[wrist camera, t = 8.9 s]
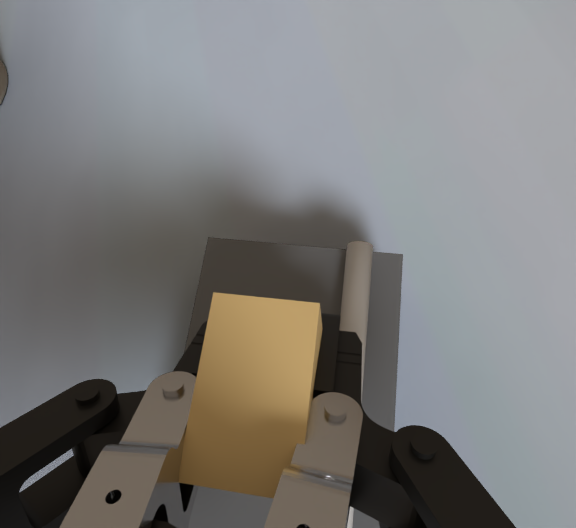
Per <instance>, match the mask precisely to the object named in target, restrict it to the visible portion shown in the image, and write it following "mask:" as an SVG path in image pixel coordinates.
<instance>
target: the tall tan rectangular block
mask: <svg viewBox="0 0 576 528" xmlns="http://www.w3.org/2000/svg"><path fill="white" fill-rule="evenodd" d="M322 330H323V329H322V319H321V309H320V303H314V302H304V301H294V300H284V299H274V298H264V297H254V296H245V295H235V294H225V293H215V292H213V297H212V302H211V307H210V312H209V317H208V322H207V327H206V332H205V337H204V342H203V347H202V352H201V357H200V362H199V367H198V372H197V377H196V382H195V387H194V392H193V397H192V402H191V408H190V413H189V418H188V423H187V428H186V433H185V438H184V444H183V452H182V459H181V465H180V470H179V483H185V484H191V485H196V486H202V487H208V488H214V489H220V490H226V491H232V492H238V493H244V494H250V495H255V496H261V497H267V498H273V499H274V496H275V493H276V490H277V487H278V484H279V481H280V478H281V475H282V472H283V470H284V468H285V467H286V466H287V467H289V466H290V464H291V461H292V458H293V454H294V451H295V448H296V445H297V444H304V445H305V439H306V432H307V426H308V419H309V413H310V406H311V401H312V400H313V389H314V382H315V376H316V369H317V363H318V356H319V349H320V343H321V336H322Z"/></svg>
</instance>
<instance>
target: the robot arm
mask: <svg viewBox="0 0 576 528" xmlns="http://www.w3.org/2000/svg"><path fill="white" fill-rule="evenodd" d="M340 318H341V315H335V314H326V313H321V319H322V329H323V330H322V336H321V343H320V349H319V356H318V363H317V369H316V376H315V382H314V389H313V400H312V401H311V406H310V413H309V419H308V426H307V432H306V439H305V445H304V444H297V445H296V448H295V451H294V454H293V458H292V461H291V464H290V466H289V467H287V466H286V467H285V468H284V470H283V472H282V475H281V478H280V481H279V484H278V487H277V490H276V493H275V496H274V499H273V502H272V505H271V508H270V511H269V514H268V517H267V520H266V523H265V526H264V528H347V524H348V518H349V511H350V506H351V507H353V508H355V509H356V510H358V511H360V512H362V513H364V514H366V515H368V516H370V517H372V518H374V519H375V520H377V521H379V525H380V528H516V527H515V526H514V524H513V523H512V522H511V521H510V519H509V518H508V517H507V516H506V514H505V513H504V512H503V511H502V509H501V508H500V507H499V506H498V504H497V503H496V502H495V501H494V499H493V498H492V497H491V496H490V494H489V493H488V492H487V491H486V489H485V488H484V487H483V486H482V484H481V483H480V482H479V481H478V479H477V478H476V477H475V476H474V474H473V473H472V472H471V471H470V469H469V468H468V467H467V466H466V464H465V463H464V462H463V460H462V459H461V458H460V457H459V455H458V454H457V453H456V452H455V450H454V449H453V448H452V447H451V445H450V444H449V443H448V442H447V441H446V440H445V438H444V437H442V436H441V435H440V434H438V433H437V432H435V431H433V430H432V429H429V428H426V427H423V426H416V425H411V426H406V427H403V428H401V429H399V430H398V431H397V432H393V431H391V430H389V429H386V428H384V427H382V426H380V425H378V424H377V423H375V422H374V421H372V420H371V419H370V418H369V417H368V416H367V414H366V413H365V412H364V410H363V407H362V404H361V381H362V342H361V340H360V339H359V337H358V335H357V334H356V332H349V331H340V330H339V329H340ZM207 322H208V320H207V321H206V322H204V323H203V324H202V326H201V327H200V329H199V330H198V332H197V334H196V336H195V337H194V338H193V340H192V342H191V344H190V345H189V346H188V348H187V350H186V351H185V353H184V354H183V356H182V358H181V359H180V361H179V363H178V364H177V366H176V367H175V369H174V371H173V372H169V373H166V374H163V375H161V376H159V377H158V378H156V379H155V380H154V381H152V383H151V384H150V385H149V387H148V389H147V390H145V391H139V392H130V393H121V394H117V391H116V387H115V385H114V384H113V383H112V382H110V381H108V380H104V379H92V380H87V381H84V382H81V383H79V384H77V385H75V386H73V387H71V388H70V389H68V390H66V391H64V392H62V393H61V394H59V395H57V396H55V397H54V398H52V399H50V400H48V401H47V402H45V403H43V404H41V405H40V406H38V407H36V408H34V409H33V410H31V411H29V412H27V413H26V414H24V415H22V416H20V417H19V418H17V419H15V420H13V421H12V422H10V423H8V424H6V425H5V426H3V427H1V428H0V528H188V526H189V520H190V516H191V513H192V509H193V505H194V502H195V498H196V494H197V491H198V487H199V486H196V485H191V484H185V483H179V470H180V465H181V459H182V452H183V444H184V438H185V433H186V428H187V423H188V418H189V413H190V408H191V402H192V397H193V392H194V387H195V382H196V377H197V372H198V367H199V362H200V357H201V352H202V347H203V342H204V337H205V332H206V327H207ZM71 448H72V451H73V454H74V456H72V457H71V458H69V459H68V460H67V461H65V462H64V463H62V464H61V465H59V466H58V467H57V468H55V469H54V470H52V471H51V472H49V473H48V474H46V475H45V476H44V477H42V478H41V479H39V480H38V481H36V482H35V483H33V484H32V485H31V486H29V487H28V488H26V489H25V490H23V491H22V492H20V493H19V490H20V488H21V486H22V485H23V483H24V482H25V481H26V480H27V479H28V478H29V477H30V476H32V475H33V474H35V473H36V472H38V471H39V470H40V469H42V468H43V467H45V466H46V465H48V464H49V463H51V462H52V461H54V460H55V459H57V458H58V457H60V456H61V455H63V454H64V453H66V452H67V451H68V450H70V449H71Z"/></svg>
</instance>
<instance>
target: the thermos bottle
mask: <svg viewBox="0 0 576 528" xmlns="http://www.w3.org/2000/svg"><path fill="white" fill-rule="evenodd" d="M7 85H8V75H7V72H6V68H5V66H4V64H3V63H2V61H1V60H0V105H1V103H2V101H3V98H4V96H5V94H6V90H7Z"/></svg>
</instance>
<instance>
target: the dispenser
mask: <svg viewBox="0 0 576 528" xmlns="http://www.w3.org/2000/svg"><path fill="white" fill-rule="evenodd" d="M402 261H403V254H393V253H381V252H373V245H372V244H370V243H368V242H363V241H353V242H349V243H348V244H347V250H346V249H335V248H323V247H312V246H300V245H289V244H277V243H266V242H254V241H242V240H231V239H219V238H208V241H207V246H206V251H205V256H204V261H203V265H202V270H201V275H200V280H199V284H198V289H197V294H196V299H195V304H194V308H193V313H192V318H191V323H190V328H189V332H188V337H187V342H186V347H185V351H186V350H187V348H188V346H189V345H190V344H191V342H192V340H193V338H194V337H195V336H196V334H197V332H198V330H199V329H200V327H201V326H202V324H203V323H204V322H206V321H207V320H208V317H209V312H210V307H211V302H212V297H213V292H215V293H225V294H235V295H245V296H254V297H264V298H274V299H284V300H294V301H304V302H314V303H320V309H321V313H326V314H335V315H341V318H340V329H339V330H340V331H349V332H356V334H357V335H358V337H359V339H360V340H361V342H362V381H361V404H362V407H363V410H364V412H365V413H366V414H367V416H368V417H369V418H370V419H371V420H372V421H374V422H375V423H377V424H378V425H380V426H382V427H384V428H386V429H389V430H391V431H393V432H394V423H395V403H396V382H397V362H398V342H399V321H400V301H401V281H402ZM185 351H184V353H185ZM272 502H273V498H267V497H261V496H255V495H250V494H244V493H238V492H232V491H226V490H220V489H214V488H208V487H202V486H199V487H198V491H197V494H196V498H195V502H194V505H193V509H192V513H191V516H190V520H189V526H188V528H264V526H265V523H266V520H267V517H268V514H269V511H270V508H271V505H272ZM347 528H380V525H379V521H377V520H375V519H374V518H372V517H370V516H368V515H366V514H364V513H362V512H360V511H358V510H356V509H355V508H353V507H351V506H350V511H349V518H348V524H347Z"/></svg>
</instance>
